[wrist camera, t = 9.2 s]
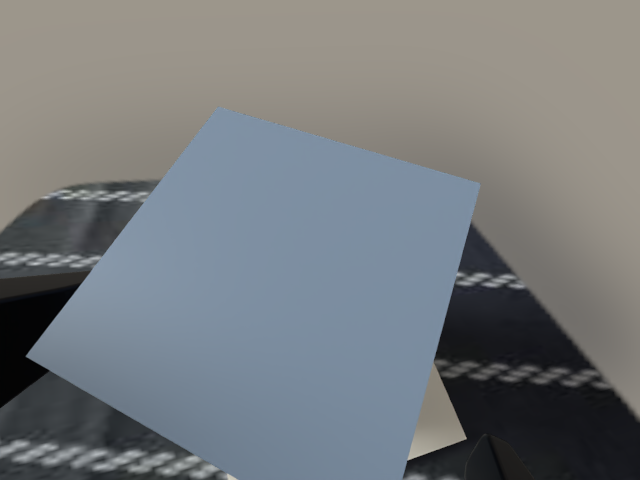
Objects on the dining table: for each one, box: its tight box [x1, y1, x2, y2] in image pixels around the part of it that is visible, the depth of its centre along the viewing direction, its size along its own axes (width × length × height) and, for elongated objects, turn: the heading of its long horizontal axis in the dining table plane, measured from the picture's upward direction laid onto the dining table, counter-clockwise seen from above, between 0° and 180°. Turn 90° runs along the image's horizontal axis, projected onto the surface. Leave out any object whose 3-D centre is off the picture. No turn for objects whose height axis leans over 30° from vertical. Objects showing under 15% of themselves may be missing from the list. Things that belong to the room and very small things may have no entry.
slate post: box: [26, 107, 480, 480], centre depth 11 cm, size 5×5×13 cm
